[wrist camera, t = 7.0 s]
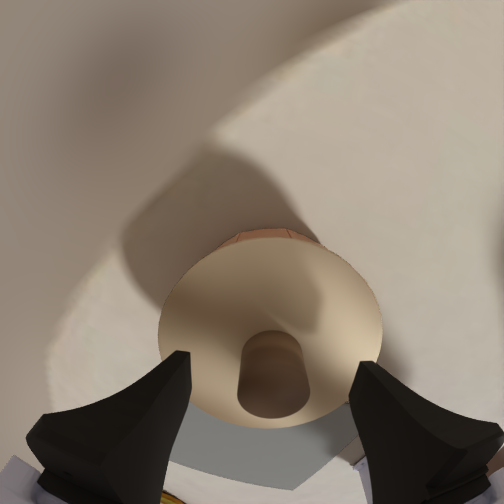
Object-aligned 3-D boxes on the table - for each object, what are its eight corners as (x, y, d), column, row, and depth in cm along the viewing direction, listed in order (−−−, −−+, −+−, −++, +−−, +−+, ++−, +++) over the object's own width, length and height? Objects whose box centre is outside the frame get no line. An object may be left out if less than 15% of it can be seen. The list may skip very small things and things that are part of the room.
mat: (292, 488, 24) (292, 490, 24) (162, 455, 23) (161, 457, 23) (377, 409, 21) (378, 412, 20) (209, 359, 19) (208, 362, 19)
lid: (309, 434, 16) (316, 477, 12) (142, 378, 15) (120, 419, 11) (413, 292, 13) (451, 323, 9) (209, 195, 12) (187, 200, 9)
